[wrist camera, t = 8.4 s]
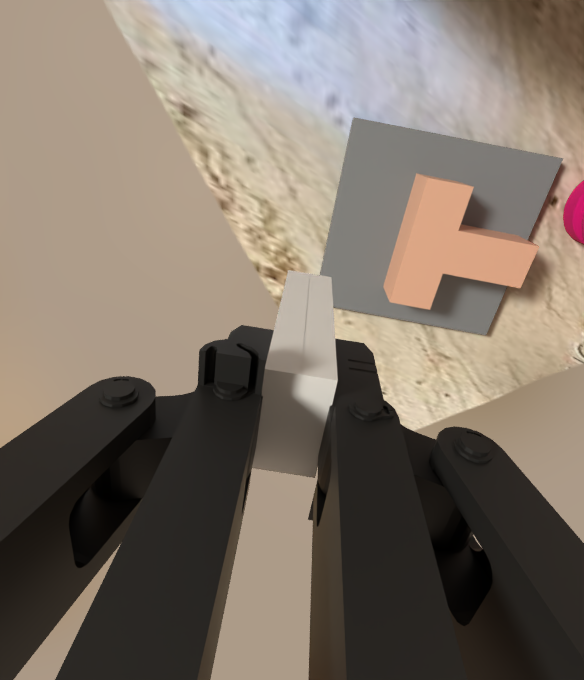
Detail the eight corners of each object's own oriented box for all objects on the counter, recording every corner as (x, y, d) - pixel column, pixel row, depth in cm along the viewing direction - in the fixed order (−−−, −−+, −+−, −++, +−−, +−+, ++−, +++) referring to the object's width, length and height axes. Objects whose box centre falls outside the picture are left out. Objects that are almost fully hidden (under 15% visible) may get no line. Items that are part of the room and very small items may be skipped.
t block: (416, 173, 34) (427, 177, 30) (533, 196, 34) (558, 203, 30) (383, 286, 38) (389, 302, 35) (487, 306, 38) (504, 323, 35)
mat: (353, 118, 33) (354, 117, 32) (555, 157, 34) (563, 158, 33) (314, 299, 40) (314, 303, 39) (481, 330, 41) (486, 335, 40)
